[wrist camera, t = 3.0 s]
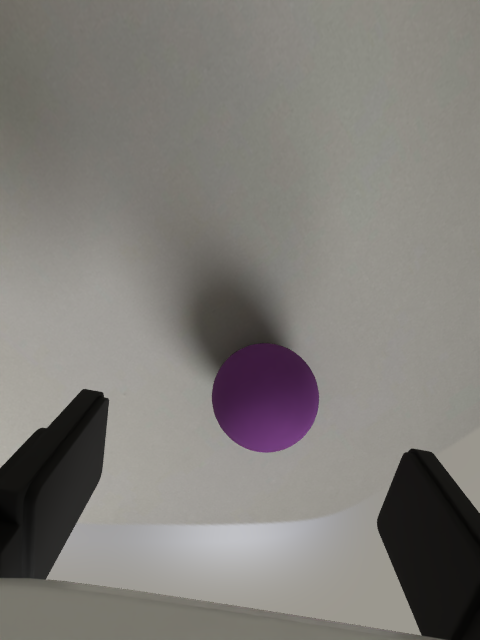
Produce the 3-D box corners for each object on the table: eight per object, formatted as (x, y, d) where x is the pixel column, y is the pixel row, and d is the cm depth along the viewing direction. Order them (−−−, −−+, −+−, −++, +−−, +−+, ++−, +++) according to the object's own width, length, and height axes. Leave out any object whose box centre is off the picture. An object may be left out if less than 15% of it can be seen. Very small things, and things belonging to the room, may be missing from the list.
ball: (320, 339, 16) (343, 384, 12) (297, 421, 17) (311, 487, 13) (226, 320, 16) (217, 359, 12) (210, 403, 17) (196, 465, 13)
